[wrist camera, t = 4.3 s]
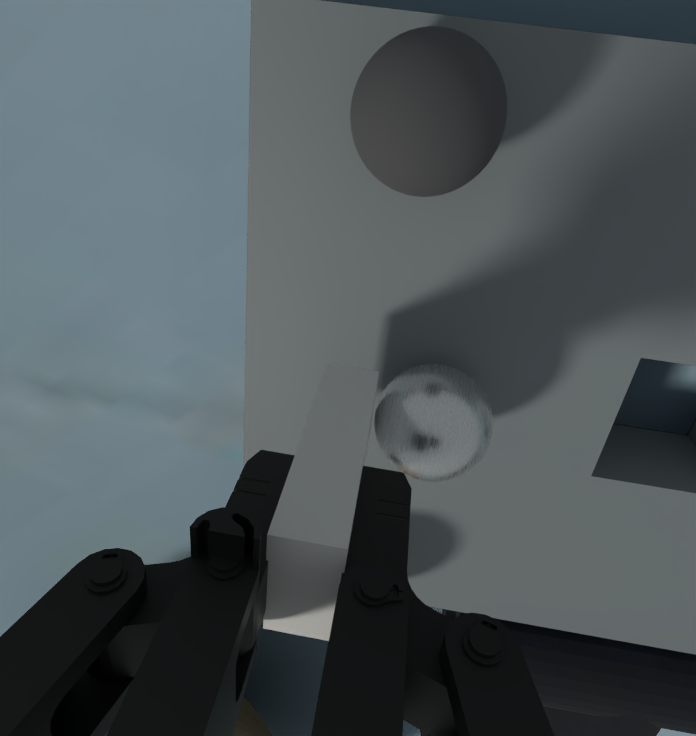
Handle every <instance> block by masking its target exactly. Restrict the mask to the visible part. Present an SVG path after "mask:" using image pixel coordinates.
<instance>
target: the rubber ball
mask: <svg viewBox="0 0 696 736" xmlns="http://www.w3.org/2000/svg"><path fill="white" fill-rule="evenodd" d="M506 119H507V93H506V89H505V84H504V81H503V78H502V75H501V72H500V70H499V68H498V66H497V64H496V62H495V61H494V59H493V58H492V57H491V55H490V54H489V52H488V51H487V50H486V49H485V48H484V47H483V46H482V45H481V44H480V43H478V42H477V41H476V40H475V39H473V38H472V37H470V36H468V35H466V34H465V33H463V32H460V31H458V30H455V29H452V28H447V27H441V26H427V27H419V28H416V29H412V30H408V31H406V32H404V33H401V34H399V35H397V36H396V37H394V38H392V39H391V40H389V41H388V42H387V43H385V44H384V45H383V46H382V47H380V49H379V50H378V51H377V52H376V53H375V54H374V55H373V56H372V57H371V58H370V60H369V61H368V63H367V64H366V65H365V67H364V69H363V70H362V72H361V74H360V76H359V78H358V81H357V83H356V86H355V89H354V93H353V96H352V102H351V111H350V122H351V131H352V136H353V141H354V144H355V147H356V150H357V152H358V154H359V156H360V158H361V160H362V161H363V163H364V164H365V166H366V167H367V169H368V170H369V171H370V172H371V173H372V175H374V176H375V177H376V178H377V179H378V180H379V181H380V182H382V183H383V184H384V185H386V186H387V187H389V188H391V189H393V190H395V191H397V192H400V193H403V194H406V195H411V196H417V197H431V196H438V195H443V194H446V193H449V192H452V191H454V190H456V189H458V188H460V187H462V186H464V185H465V184H467V183H468V182H470V181H471V180H472V179H474V178H475V177H476V176H477V175H478V174H479V173H480V172H481V171H482V170H483V169H484V168H485V167H486V166H487V164H488V163H489V162H490V160H491V159H492V157H493V156H494V154H495V152H496V150H497V149H498V146H499V144H500V142H501V139H502V136H503V133H504V129H505V125H506Z"/></svg>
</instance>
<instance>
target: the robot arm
mask: <svg viewBox="0 0 696 736" xmlns="http://www.w3.org/2000/svg"><path fill="white" fill-rule="evenodd" d="M378 375H379V372H378V371H372V370H365V369H359V368H353V367H347V366H340V365H334V364H328V363H327V365H326V368H325V371H324V374H323V376H322V379H321V382H320V385H319V388H318V391H317V394H316V396H315V399H314V402H313V405H312V408H311V411H310V414H309V416H308V419H307V422H306V425H305V428H304V431H303V434H302V436H301V439H300V442H299V445H298V448H297V451H296V454H295V455H290V454H284V453H278V452H272V451H266V450H260V451H259V452H258V453H256V454H255V455H254V456H253V457H251V458H250V459H249V460H248V461H247V462H246V464H245V466H244V468H243V470H242V473H241V475H240V478H239V480H238V481H237V483H236V486H235V488H234V491H233V492H232V494H231V496H230V498H229V501H228V503H227V505H226V507H225V508H219V509H215V510H211V511H208V512H206V513H205V514H203V515H201V516H200V517H198V518H197V519H196V520H195V521H194V523H193V524H192V525H191V526H190V540H191V557H189V558H186V559H183V560H181V561H176V562H171V563H162V564H151V565H144V564H143V561H142V559H141V557H139V556H138V555H136V554H135V553H134V552H132V551H129V550H125V549H120V548H116V549H104V550H102V551H99V552H96V553H94V554H91V555H89V556H88V557H86V558H85V559H83V560H82V561H81V562H79V563H78V564H77V565H76V566H75V567H74V568H72V569H71V570H70V571H69V572H68V573H67V574H66V575H65V576H64V577H63V578H62V579H61V580H60V581H59V582H58V583H57V584H56V585H55V586H53V587H52V588H51V589H50V590H49V591H48V592H47V593H46V594H45V595H44V596H43V597H42V598H41V599H40V600H39V601H38V602H37V603H36V604H35V605H33V606H32V607H31V608H30V609H29V610H28V611H27V612H26V613H25V614H24V615H23V616H22V617H21V618H20V619H19V620H18V621H17V622H16V623H14V624H13V625H12V626H11V627H10V628H9V629H8V630H7V631H6V632H5V633H4V634H3V635H2V636H1V637H0V736H105V734H106V733H107V732H108V733H107V735H106V736H232V735H233V732H234V728H235V725H236V721H237V718H238V715H239V711H240V708H241V704H242V701H243V698H244V694H245V691H246V687H247V684H248V681H249V677H250V674H251V670H252V667H253V664H254V660H255V657H256V650H257V637H258V633H259V630H260V627H261V624H262V620H263V629H268V630H274V631H279V632H284V633H289V634H294V635H300V636H305V637H310V638H315V639H321V640H326V641H329V643H328V648H327V654H326V659H325V664H324V670H323V675H322V681H321V686H320V692H319V697H318V702H317V708H316V713H315V719H314V724H313V730H312V735H311V736H402V730H403V720H405V721H407V722H408V723H410V724H412V725H413V726H415V727H417V728H419V729H420V732H421V736H554V733H553V731H552V728H551V726H550V723H549V721H548V718H547V715H546V713H545V710H544V708H543V705H542V703H541V700H540V697H539V695H538V692H537V690H536V687H535V685H534V682H533V679H532V677H531V674H530V672H529V669H528V667H527V664H526V662H525V659H524V656H523V654H522V651H521V649H520V646H519V644H518V642H517V641H516V639H515V637H514V636H513V634H512V632H511V631H510V630H509V629H507V628H506V627H505V626H504V625H503V624H502V623H501V622H500V621H498V620H496V619H494V618H492V617H490V616H488V615H485V614H478V613H467V614H463V615H459V616H458V617H456V618H455V619H454V620H453V619H451V618H449V617H447V616H445V615H443V614H441V613H439V612H437V611H435V610H433V609H432V608H430V607H428V606H427V605H425V604H424V603H423V602H422V601H421V600H420V599H419V598H418V597H417V596H416V595H415V593H414V592H413V590H412V589H411V586H410V584H409V581H408V575H407V564H408V545H409V527H410V506H411V489H412V488H411V486H410V484H409V482H408V480H407V478H406V476H405V474H404V473H403V472H398V471H392V470H386V469H380V468H374V467H368V466H364V465H365V459H366V453H367V447H368V441H369V434H370V428H371V421H372V415H373V408H374V402H375V395H376V389H377V382H378ZM108 730H109V731H108Z"/></svg>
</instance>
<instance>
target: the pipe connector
mask: <svg viewBox="0 0 696 736" xmlns="http://www.w3.org/2000/svg"><path fill="white" fill-rule="evenodd" d="M442 614H443V615H445V616H447V617H449V618H451V619H453V620H454V619H455V618H456V617H458V616H459V615H463V614H467V613H463V612H457V611H452V610H446V609H443V611H442ZM494 619H496V618H494ZM496 620H498V621H500V622H501V623H502V624H503V625H504V626H505V627H506V628H507V629H509V630H510V631H511V632H512V634H513V636H514V637H515V639H516V641H517V642H518V644H519V646H520V649H521V651H522V654H523V656H524V659H525V662H526V664H527V667H528V669H529V672H530V674H531V677H532V679H533V682H534V685H535V687H536V690H537V692H538V695H539V697H540V700H541V703H542V705H543V708H544V710H545V713H546V715H547V718H548V721H549V723H550V726H551V728H552V731H553V733H554V736H656V735H657V734H658V732H659V731H660V729H661V728H664V729H670V730H675V731H680V732H686V733H691V734H696V655H695V654H689V653H684V652H678V651H673V650H667V649H662V648H656V647H651V646H645V645H640V644H634V643H629V642H623V641H618V640H612V639H607V638H601V637H595V636H590V635H584V634H579V633H573V632H568V631H562V630H557V629H551V628H546V627H540V626H535V625H529V624H524V623H518V622H513V621H507V620H501V619H496Z"/></svg>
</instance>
